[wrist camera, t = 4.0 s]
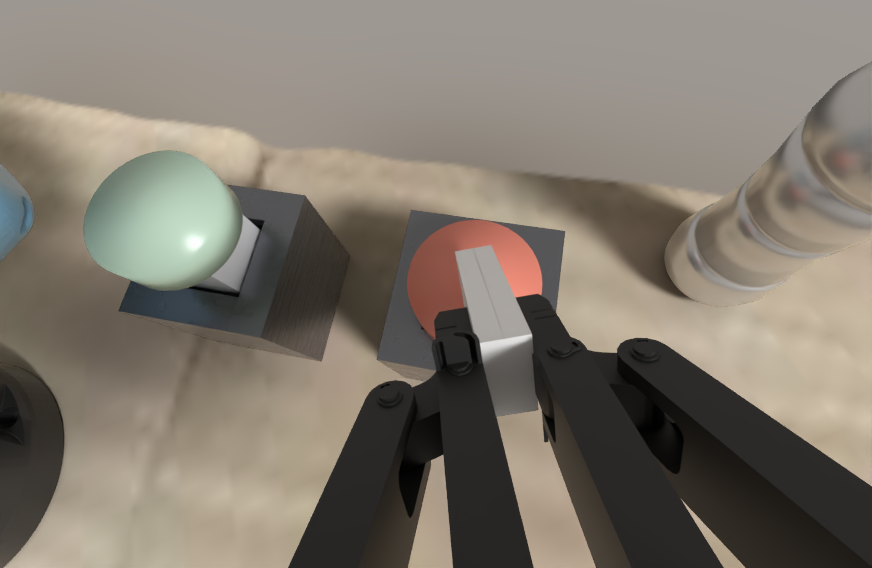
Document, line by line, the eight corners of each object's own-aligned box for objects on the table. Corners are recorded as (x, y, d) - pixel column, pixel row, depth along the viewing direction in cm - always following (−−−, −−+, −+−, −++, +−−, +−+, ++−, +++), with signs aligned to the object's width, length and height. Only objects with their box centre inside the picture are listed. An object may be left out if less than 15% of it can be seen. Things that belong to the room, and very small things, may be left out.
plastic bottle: (643, 232, 31) (925, -76, 12) (740, 221, 30) (1193, -115, 11) (666, 319, 29) (1053, 120, 10) (770, 308, 28) (1385, 80, 9)
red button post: (405, 377, 29) (376, 359, 20) (428, 267, 31) (411, 210, 22) (523, 400, 28) (547, 391, 19) (538, 284, 30) (565, 231, 21)
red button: (420, 362, 28) (394, 334, 18) (437, 277, 29) (421, 211, 20) (512, 380, 27) (533, 359, 18) (524, 290, 29) (549, 229, 19)
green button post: (216, 341, 31) (118, 311, 22) (251, 240, 33) (174, 177, 24) (321, 361, 30) (260, 337, 21) (349, 255, 32) (305, 195, 23)
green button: (200, 317, 27) (59, 264, 18) (231, 232, 29) (117, 143, 19) (288, 333, 26) (189, 287, 17) (314, 245, 28) (237, 158, 19)
